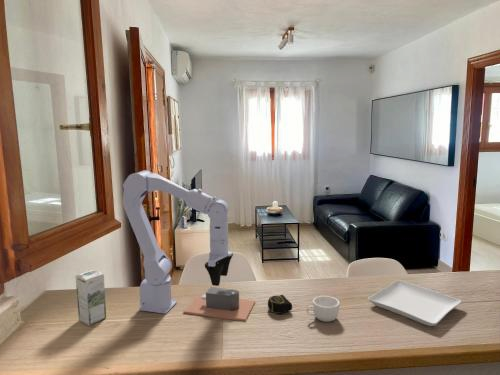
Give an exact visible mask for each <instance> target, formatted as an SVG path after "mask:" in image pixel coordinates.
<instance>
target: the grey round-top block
mask: <svg viewBox="0 0 500 375" xmlns="http://www.w3.org/2000/svg"><path fill="white" fill-rule="evenodd" d="M202 295H203V296H202V297H201V299H204V300H206V308H212V309H220V310H228V311H235V310H238V309H239V299H240V291H239V290H237V289H234V288H233V289H230V288H223V287H215V286H213V287H212V286H210V287H209V288H208V290H207V291H205V293H204V294H202Z"/></svg>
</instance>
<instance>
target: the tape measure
mask: <svg viewBox="0 0 500 375" xmlns="http://www.w3.org/2000/svg"><path fill="white" fill-rule="evenodd" d="M267 306H268V309H269V311H271V312H272V313H275V314H283V313H287V312H290V311H292V310H293V304H292V303H291V302H290V301H289V299H287V298H286V296H285V295H284V294H280V295H272V296H270V297H269V298H268V300H267Z"/></svg>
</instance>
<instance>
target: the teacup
mask: <svg viewBox="0 0 500 375" xmlns="http://www.w3.org/2000/svg"><path fill="white" fill-rule="evenodd" d="M310 308H311V309H312V311H313V312H309V310H310ZM339 311H340V301H339V299H337V298H336V297H333V296H329V295H319V296H316V297H314V298H313V300H312V305H309V306H307V307H306V313H307V314H308V315H311V316H315V317H316V319H317V320H319V321H321V322H325V323H330V322H333V321H334V320H336V319H337V317H338V315H339Z"/></svg>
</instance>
